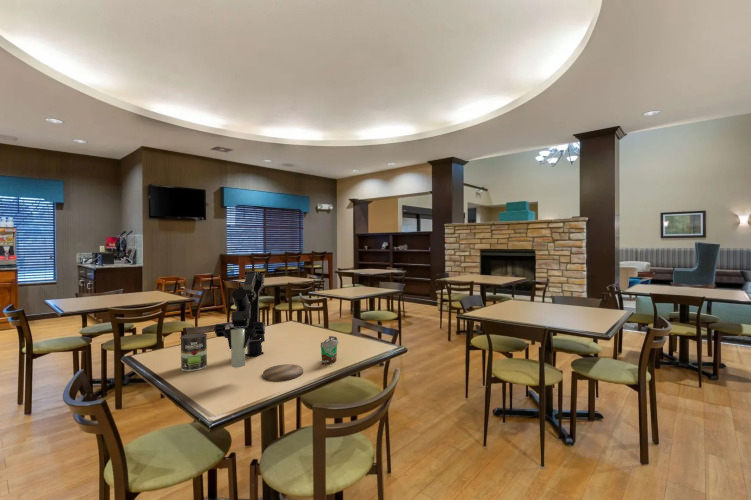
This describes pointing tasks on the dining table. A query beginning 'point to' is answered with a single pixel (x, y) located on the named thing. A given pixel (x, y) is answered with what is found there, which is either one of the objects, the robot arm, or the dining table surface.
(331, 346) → the food container
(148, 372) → the dining table surface
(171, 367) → the dining table surface
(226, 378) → the dining table surface
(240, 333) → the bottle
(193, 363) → the coffee can
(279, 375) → the disc
